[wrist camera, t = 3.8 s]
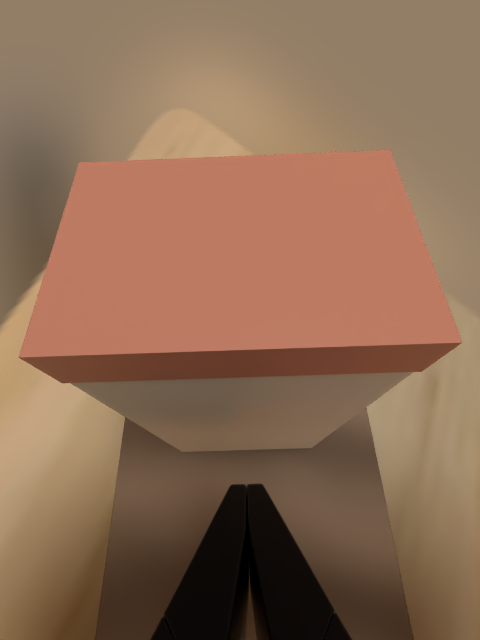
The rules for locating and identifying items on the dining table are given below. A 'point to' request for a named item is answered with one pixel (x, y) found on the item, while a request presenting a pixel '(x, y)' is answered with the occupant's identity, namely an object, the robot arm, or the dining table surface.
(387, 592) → the switch base
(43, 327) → the switch lever
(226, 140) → the dining table surface
